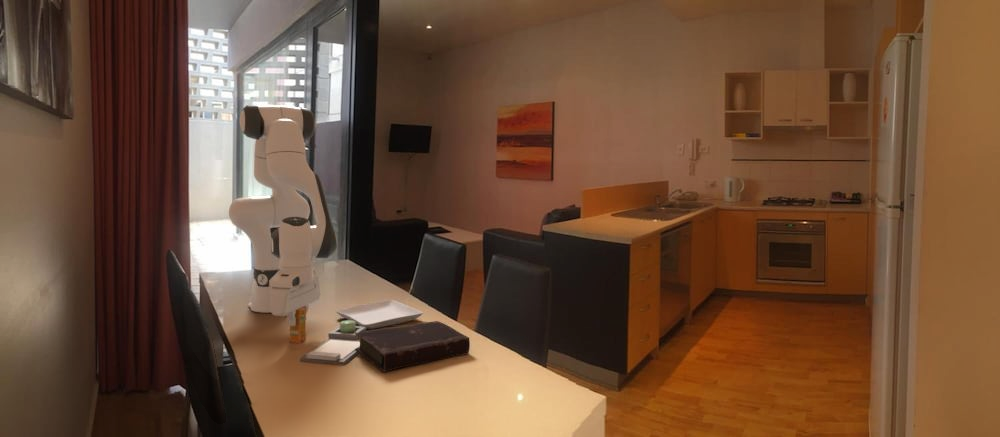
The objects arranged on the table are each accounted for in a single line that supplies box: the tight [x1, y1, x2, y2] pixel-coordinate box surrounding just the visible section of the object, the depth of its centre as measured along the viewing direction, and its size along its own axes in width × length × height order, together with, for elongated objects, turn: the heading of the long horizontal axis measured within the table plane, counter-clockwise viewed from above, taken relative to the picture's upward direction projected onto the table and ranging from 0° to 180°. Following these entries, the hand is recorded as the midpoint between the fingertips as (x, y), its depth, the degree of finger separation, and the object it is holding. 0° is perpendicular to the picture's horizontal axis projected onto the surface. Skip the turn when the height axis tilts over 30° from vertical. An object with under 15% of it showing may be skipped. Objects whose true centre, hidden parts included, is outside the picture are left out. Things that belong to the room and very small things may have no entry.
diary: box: [355, 320, 471, 372], centre depth 146 cm, size 19×25×5 cm
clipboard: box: [299, 338, 360, 366], centre depth 146 cm, size 16×12×2 cm
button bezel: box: [327, 325, 367, 341], centre depth 159 cm, size 8×8×2 cm
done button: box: [339, 319, 357, 333], centre depth 159 cm, size 4×4×3 cm
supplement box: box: [289, 306, 307, 344], centre depth 155 cm, size 3×3×10 cm
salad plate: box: [335, 299, 424, 330], centre depth 177 cm, size 21×21×3 cm
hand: (297, 323), depth 155 cm, fingers closed on supplement box, 3 cm apart
